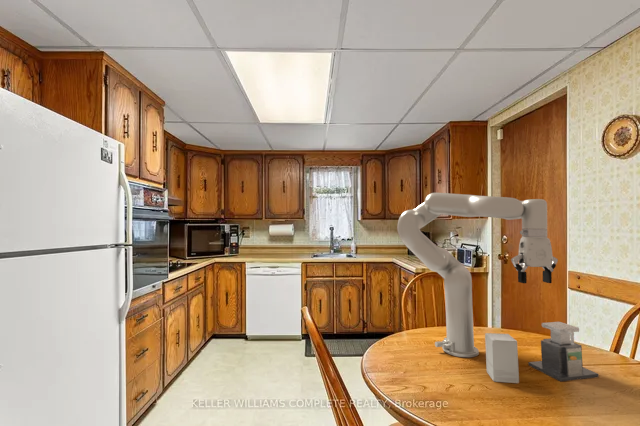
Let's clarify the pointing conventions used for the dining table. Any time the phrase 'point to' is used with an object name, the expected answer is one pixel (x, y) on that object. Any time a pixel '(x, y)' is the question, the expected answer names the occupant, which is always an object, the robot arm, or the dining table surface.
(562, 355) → the tester
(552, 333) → the grey flanged block
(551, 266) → the robot arm
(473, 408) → the dining table surface
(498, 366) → the supplement box
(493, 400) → the dining table surface
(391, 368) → the dining table surface
